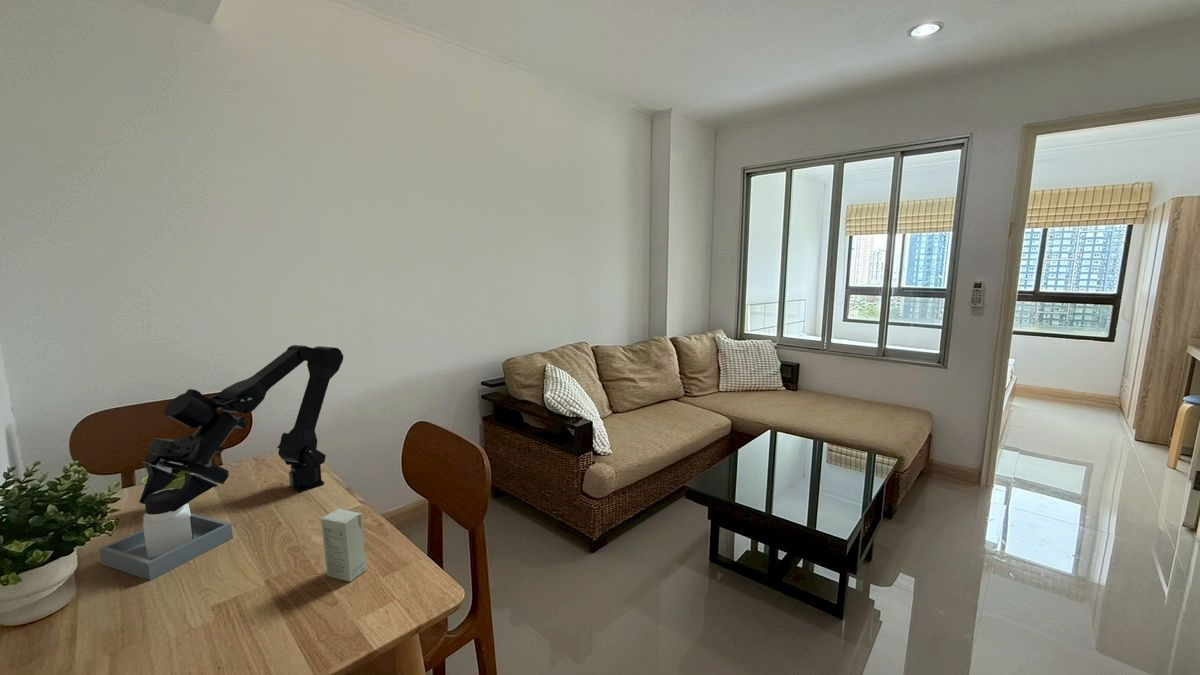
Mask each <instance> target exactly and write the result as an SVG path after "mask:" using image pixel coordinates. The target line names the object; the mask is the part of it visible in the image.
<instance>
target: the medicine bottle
mask: <svg viewBox="0 0 1200 675" xmlns="http://www.w3.org/2000/svg"><path fill="white" fill-rule="evenodd" d="M180 490H181V489H179V488H169V489H164V490H160V491H157V492H155V493H153V494H151V495H149V496H147V497H146V499H145V500H144V502H145V504H144V508H145V513H144V514H143V515H142V516H143V518H142V520H143V526H142V528H143V529H142V530H144V536H145V544H146V551H147V558H148V559H152V558H155V557H159V556H161V555H163V554H165V553H167V552H169V551H171V550H173V549H175V548H177V547H179V546H181V545H184V544H186V543H188V542H190V541H192V540H194V537H193V529H192V521H191V514H190V513H191V511H190V510H191V509H190V504H189V502H188V503H187V504H185V505H184V506H182V507H181V508H179V509H178V510H176V511H174V512H173V511H170V510H169V508H170V506H171V504H172V502H173V501H174V499H175V498H176V496H177V495H178V493H179V491H180Z"/></svg>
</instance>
